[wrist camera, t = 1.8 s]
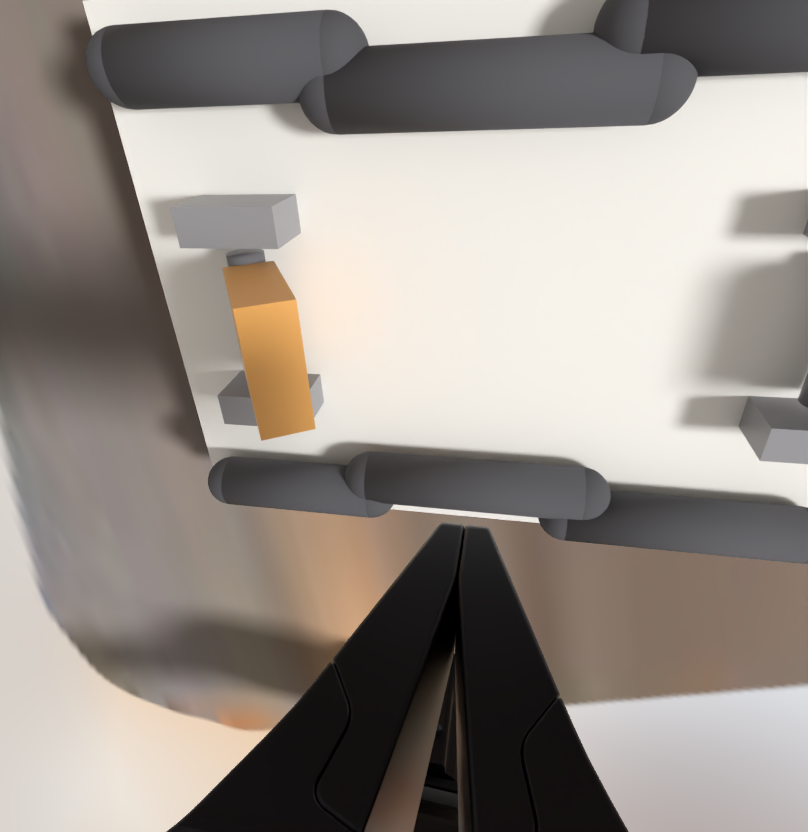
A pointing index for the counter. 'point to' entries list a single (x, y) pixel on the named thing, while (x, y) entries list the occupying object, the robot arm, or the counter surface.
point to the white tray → (500, 269)
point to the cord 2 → (519, 501)
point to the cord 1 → (451, 66)
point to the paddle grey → (804, 393)
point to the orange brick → (269, 343)
